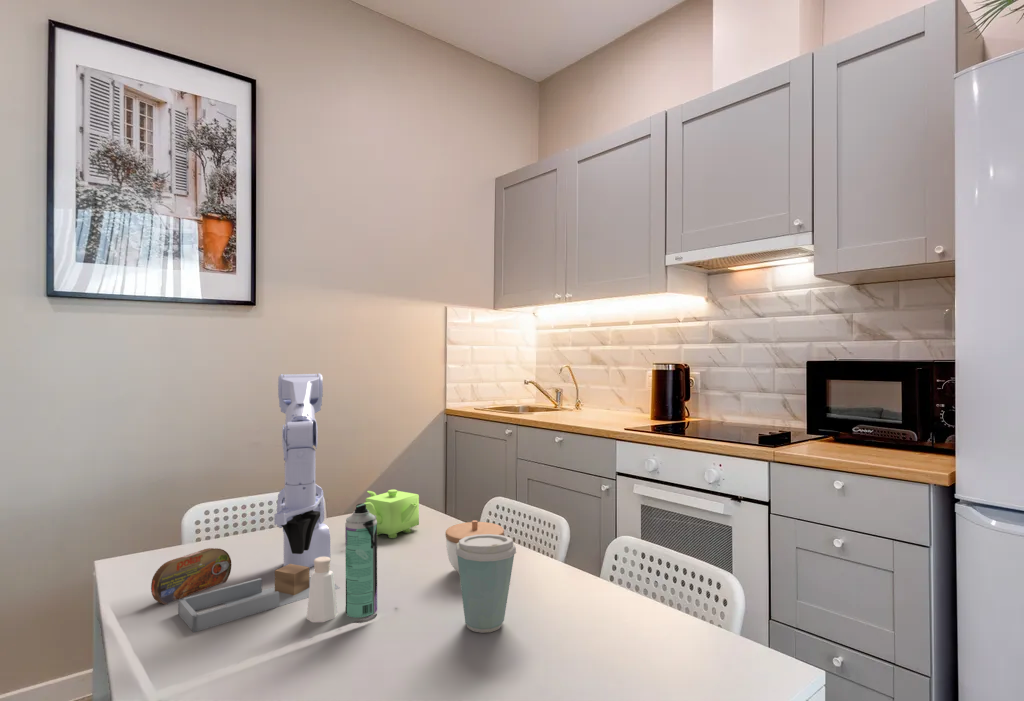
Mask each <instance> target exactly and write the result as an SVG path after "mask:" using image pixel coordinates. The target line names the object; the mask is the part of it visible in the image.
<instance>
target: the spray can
mask: <svg viewBox="0 0 1024 701" xmlns="http://www.w3.org/2000/svg"><path fill="white" fill-rule="evenodd" d="M365 503H366V502H363V503H358V504H356V506H355V509H354V511H352V514H351V515H349V516H347V517H346V518H345V521H346V522H345V523H344V524H345V527H344V528H345V529H344V530H345V536H344V537H345V540H344V541H345V614H346V616H348V617H351V618H361V619H358V620H355V621H352V622H351V623H352V624H361V623H363V624H364V623H366V622H370V621H373V620H374V619H376V617H377V616H378V613H376V612H377V611H378V535H377V520H376V516H375V515H372V514H371V513H369V510H367V509H366V504H365Z"/></svg>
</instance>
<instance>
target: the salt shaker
mask: <svg viewBox="0 0 1024 701" xmlns="http://www.w3.org/2000/svg"><path fill="white" fill-rule="evenodd" d="M331 559H332V558H331V557H330V558H329V557H318V558H316V559H315V560H314V564H315V565H314V566H313V568H314V572H312V574H311V575H310V577H311V581H310V590H309V598H308V601H307V612H306V620H308V621H310V622H311V623H325V622H328V621H331V620H333V619H335V618H336V617H337V616H338V613H339V612H338V602H337V593H336V592H337V591H336V590H335V585H336V584H335V576H334V575H335V574H334V571H332V570H330V569H331V568H330V567H331Z"/></svg>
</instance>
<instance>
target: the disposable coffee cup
mask: <svg viewBox="0 0 1024 701" xmlns="http://www.w3.org/2000/svg"><path fill="white" fill-rule="evenodd" d="M516 548H517V547H516V544H515V543H514V540H513V539H512V538H511V536H510V537H509V536H507V535H504V536H503V535H494V534H480V535H472V536H467V537H464V538H462V539H461V540H459V542H458V543H457V544H456V549H455V551H456V555H457V558H458V566H459V573H458V575H459V574H460V575H459V580H460V581H459V582H460V589H461V590H460V591H461V598H462V605H463V607H462V608H463V614H464V623H465V624H466V628H468V629H469V630H470V631H472V632H476V633H492V632H495V631H497V630H499V629H501V627H502V626H503V623H504V621H505V616H506V610H507V605H508V604H507V603H508V596H509V591H510V584H511V578H512V572H513V567H514V566H513V565H514V557H515V554H517V549H516Z"/></svg>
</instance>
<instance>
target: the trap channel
mask: <svg viewBox="0 0 1024 701" xmlns="http://www.w3.org/2000/svg"><path fill="white" fill-rule="evenodd" d="M310 581H311V576H309V588H308V589H306V590H304V591H302V592H300V593H298V594H296V595H291V594H286V593H281V592H278V591H275V586H273V587H269V588H266V589H263V585H262V584H263V580H262V578H261V577H259V578H256V579H251V580H249V581H244V582H240V583H237V584H232V585H229V586H224V587H221V588H217V589H213V590H210V591H209V590H208V591H205V592H202V593H198V594H194V595H193V594H192V595H191V596H190V595H189V596H186V597H183V598H180V599H178V600H177V602H178V603H177V605H178V609H177V613H178V615H179V617H180V618H181V619H182V620H183V622H184V623H185V624H186V625H187V626H188V628H189V629H190V630H191V631H192V633H196V632H198V631H202V630H205V629H206V630H207V629H209V628H213V627H215V626H218V625H222V624H225V623H229V622H232V621H235V620H239V619H242V618H245V617H249V616H252V615H255V614H258V613H263V612H265V611H269V610H271V609H275V608H279V607H281V606H286V605H288V604H292V603H296V602H298V601H302V600H306V599H309V590H310ZM338 589H341V587H340V586H338V585H337V584H335V591H336V590H338ZM221 604H222V605H223V604H224V605H223V606H220V607H217V608H213V609H209V610H207V611H203V612H199V613H197V611H200V610H203V609H207V608H210V607H213V606H218V605H221Z"/></svg>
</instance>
